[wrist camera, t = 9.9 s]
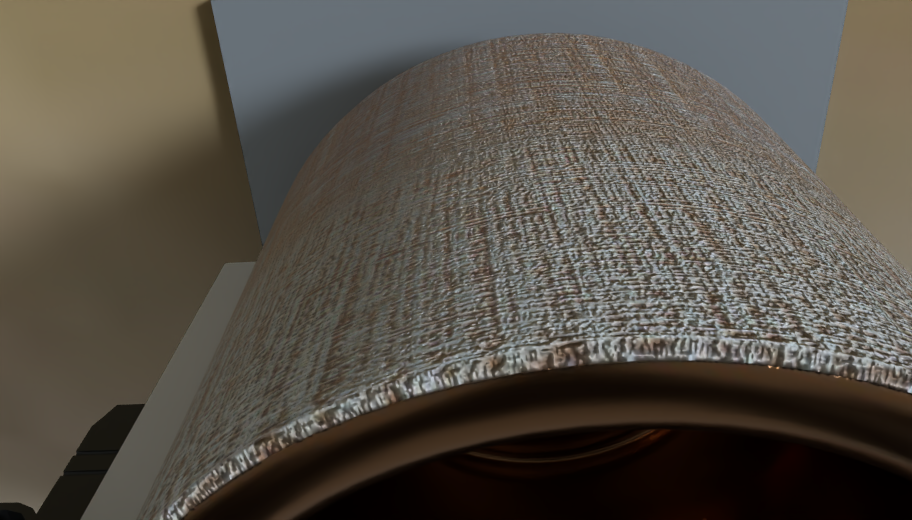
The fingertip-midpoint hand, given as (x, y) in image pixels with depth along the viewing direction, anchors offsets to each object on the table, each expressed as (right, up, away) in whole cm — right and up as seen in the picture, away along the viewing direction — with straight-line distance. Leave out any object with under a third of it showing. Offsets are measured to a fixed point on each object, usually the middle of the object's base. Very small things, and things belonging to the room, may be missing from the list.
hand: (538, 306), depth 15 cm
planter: (0, +1, +1) cm, 1 cm away
